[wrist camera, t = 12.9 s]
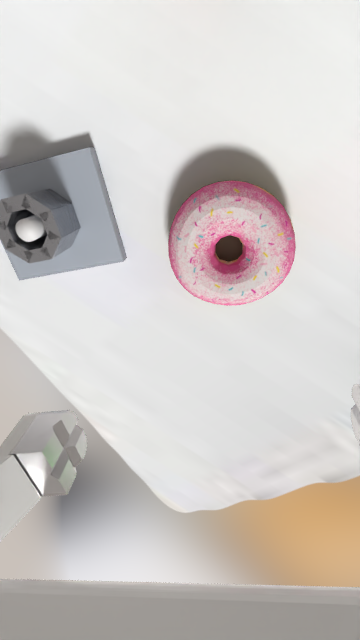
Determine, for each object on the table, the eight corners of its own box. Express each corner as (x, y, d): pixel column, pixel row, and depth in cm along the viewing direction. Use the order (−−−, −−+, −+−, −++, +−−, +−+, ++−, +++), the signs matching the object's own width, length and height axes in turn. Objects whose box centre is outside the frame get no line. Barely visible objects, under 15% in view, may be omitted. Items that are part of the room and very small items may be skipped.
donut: (158, 194, 34) (149, 200, 30) (283, 163, 31) (294, 164, 27) (185, 303, 40) (182, 322, 35) (293, 284, 37) (303, 302, 33)
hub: (66, 184, 33) (43, 189, 28) (86, 243, 36) (68, 256, 31) (13, 197, 34) (-17, 203, 30) (37, 253, 37) (13, 266, 32)
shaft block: (94, 147, 32) (68, 145, 26) (126, 257, 37) (110, 275, 32) (-20, 177, 35) (-66, 181, 29) (25, 276, 40) (-6, 296, 34)
